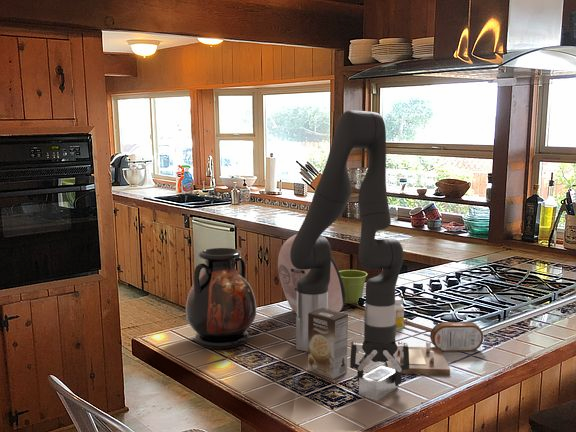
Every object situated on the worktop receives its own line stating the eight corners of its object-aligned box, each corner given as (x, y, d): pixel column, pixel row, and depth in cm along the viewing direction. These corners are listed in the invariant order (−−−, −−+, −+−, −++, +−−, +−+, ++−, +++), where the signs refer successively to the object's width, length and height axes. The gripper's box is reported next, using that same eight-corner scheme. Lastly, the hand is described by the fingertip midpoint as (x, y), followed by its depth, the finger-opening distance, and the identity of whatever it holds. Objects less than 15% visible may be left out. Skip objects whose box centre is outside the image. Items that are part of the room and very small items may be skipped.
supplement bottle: (383, 326, 193) (383, 297, 192) (396, 323, 196) (397, 295, 194) (393, 330, 188) (394, 301, 187) (407, 328, 191) (407, 299, 190)
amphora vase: (227, 325, 196) (225, 242, 192) (271, 340, 180) (270, 251, 176) (172, 341, 181) (169, 251, 177) (215, 359, 165) (212, 262, 162)
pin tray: (388, 373, 155) (388, 356, 154) (384, 351, 171) (384, 336, 170) (450, 374, 153) (450, 358, 153) (440, 352, 169) (440, 337, 169)
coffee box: (306, 370, 157) (306, 312, 155) (321, 363, 162) (321, 307, 160) (333, 379, 151) (334, 319, 149) (348, 372, 156) (348, 313, 154)
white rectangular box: (358, 395, 142) (359, 377, 142) (381, 382, 150) (381, 365, 149) (376, 401, 139) (376, 383, 139) (398, 387, 147) (398, 370, 146)
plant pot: (328, 302, 220) (329, 273, 219) (350, 296, 228) (350, 268, 227) (352, 309, 212) (352, 279, 210) (373, 303, 219) (374, 273, 218)
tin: (480, 348, 172) (481, 320, 171) (484, 352, 169) (485, 324, 168) (429, 349, 172) (430, 321, 171) (432, 353, 169) (433, 324, 168)
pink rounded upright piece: (353, 319, 200) (354, 232, 196) (311, 331, 188) (310, 239, 184) (311, 305, 217) (310, 225, 213) (269, 316, 205) (268, 231, 201)
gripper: (350, 325, 139) (350, 390, 141) (411, 326, 138) (410, 392, 140) (350, 315, 146) (349, 377, 149) (408, 316, 145) (406, 379, 147)
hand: (379, 384), depth 144 cm, fingers open, 8 cm apart
